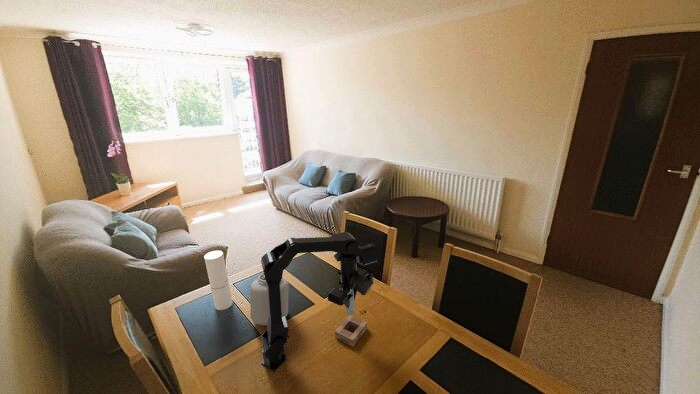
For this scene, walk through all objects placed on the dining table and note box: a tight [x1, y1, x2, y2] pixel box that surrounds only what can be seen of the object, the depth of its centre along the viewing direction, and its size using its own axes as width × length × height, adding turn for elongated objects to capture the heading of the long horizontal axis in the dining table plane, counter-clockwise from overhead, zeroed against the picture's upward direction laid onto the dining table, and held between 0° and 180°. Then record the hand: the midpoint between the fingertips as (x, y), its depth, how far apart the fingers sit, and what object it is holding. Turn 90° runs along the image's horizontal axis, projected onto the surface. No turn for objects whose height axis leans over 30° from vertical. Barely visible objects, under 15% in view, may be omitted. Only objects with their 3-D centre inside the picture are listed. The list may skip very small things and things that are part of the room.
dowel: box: [345, 290, 355, 315], centre depth 103 cm, size 3×3×9 cm
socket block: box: [334, 314, 368, 347], centre depth 107 cm, size 10×8×3 cm
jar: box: [249, 273, 289, 326], centre depth 114 cm, size 19×15×25 cm
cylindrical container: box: [203, 250, 233, 311], centre depth 121 cm, size 7×7×25 cm
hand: (350, 304), depth 103 cm, fingers closed on dowel, 3 cm apart
